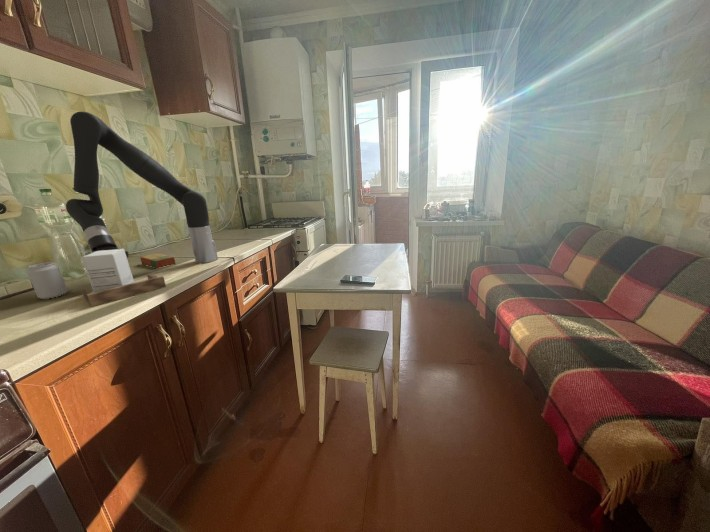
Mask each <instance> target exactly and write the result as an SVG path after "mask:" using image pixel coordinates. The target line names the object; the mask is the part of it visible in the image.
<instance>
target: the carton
mask: <svg viewBox="0 0 710 532" xmlns="http://www.w3.org/2000/svg"><path fill="white" fill-rule="evenodd" d="M140 262H141V264H144V265H143V266H145V265H148V266H147V267H149V266H152V267H151V268H153V267H155V268H154V269H156V268H159V267H163V266H167V265H170V266H172V265H171V264H174V265H176V259H175V257H174V256H171V255H167V254H162V253H153V254H148V255H144V256H140ZM167 267H168V266H167ZM163 268H164V267H163ZM159 269H160V268H159Z"/></svg>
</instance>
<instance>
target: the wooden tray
mask: <svg viewBox="0 0 710 532" xmlns="http://www.w3.org/2000/svg"><path fill="white" fill-rule="evenodd" d="M146 277H147V279H144V280H143V279H142V280H140V281H136V282H135V281H134V283H131V284H127V285H123V286H119V287H115V288H111V289H107V290H103V291H99V292H95V293H94V292H91V291H90V290H89V288H84V289H80V290H81V293H82V296H83V297H85V298H84V299H85V300H86V301H87V302H89V303H88V304H89V305H90V307H92V308H94V307H97V306H101V305H105V304H108V303H112V302H115V300H116V301H119V300H123V299H126V298H130V297H134V296H136V295H140V294H145V293H148V292H152V291H155V290H158V289H163V288H166V287H167V284H166V282H165V277H164V276H163V275H161V276H157V275H155V274H153V273H148V274H146ZM162 287H163V288H162ZM111 301H112V302H111ZM104 303H105V304H104ZM100 304H101V305H100ZM96 305H97V306H96ZM93 306H94V307H93Z"/></svg>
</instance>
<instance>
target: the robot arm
mask: <svg viewBox="0 0 710 532" xmlns="http://www.w3.org/2000/svg"><path fill="white" fill-rule="evenodd" d="M70 127H71V132H72V140H73V146H74V147H73V148H74V171H73V190H74V192H76V193H78V194H83V195H86V196H87V197H88V198H89V199H80V198H71V199H68V200H67V202H66V203H65V209H66V211H67V214H68V215H69V216H70V217H71V218H72V220H74V221H75V222H76V223H77V224H78V225H79V226H80V228H81V229H82V231H83V235H84V238H85V240H86V242H87V245H88V247H89V249H90V251H91V253H93V252H95V251H102V250H115V249H119V248H118V246H117V244H116V241H115V240H114V238H113V236H112V234H111V232H110V231H109V229H108V227H107V226H106V224H105V221H104V220H103V218H101V217H102V215H103V214H104V208H103V204H102V201H101V197H100V194H99V193H100V192H99V185H100V183H99V182H100V181H99V180H100V173H99V172H100V171H99V164H98V146H101V147H102V148H103V149H105V150H106V151H109V152H110V153H111V154H112V155H114V156H115V157H116V158H117V159H118V160H119V161H120V162H121V163H122V164H123V165H125V166H126V167H127V168H128V169H129V170H130V171H132V172H133V173H135V175H138V176H139V177H140V178H142V179H143V180H144V181H146V182H148V183H149V184H151V185H153V186H154V187H156V188H158V189H159V190H162V191H163V192H164V193H167V194H169V196H171V197H172V198H174V199H175V200H176V201H178V203H180V204H181V205H182V206H183V209H184V214H185V218H186V219H185V220H186V224H187V229H188V234H189V238H190V244H191V248H192V251H193V256H194V261H195V264H205V263H206V264H207V263H212V262H214V261H217V260H218V259H219V256H218V251H217V247H216V246H217V245H216V242H215V240H213V235H212V231H211V225H210V217H209V210H208V205H207V202H206V201H207V200H206V198H205V197H204V196H203V194H201V193H200V192H197V191H194V190H193V189H191V188H189V187H188V186H187V185H185V184H183V183H182V182H180V180H178V179H177V178H176V177H175V176H174V175H173V174H172V173H171V172H170V171H169V170H168V169H167V168H165V167H164V166H163V165H162V164H161V163H159V162H158V161H157V160H156V159H154V158H153V157H151V156H150V155H149V154H147V153H146V152H144V151H142V150H141V149H140V148H138V147H136V146H135V145H133V144H131V143H130V142H128V141H127V140H125V139H124V138H122V137H121V136H120V135H119V134H118V133H116V132H115V131H114V130H113V128H110V126H108V125H107V124H106V123H105V122H104V121H103V120H102V119H101V118H100V117H99V116H98V115H97V116H96V115H95V114H92V113H90V112H88V111H77V112H75V113H74V112H73V114H72V115H71V117H70ZM124 251H125V250H124ZM125 254H126V257H127V259H128V258H129V256H130V255H129V251H127V250H126V251H125Z"/></svg>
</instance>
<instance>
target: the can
mask: <svg viewBox="0 0 710 532" xmlns="http://www.w3.org/2000/svg"><path fill="white" fill-rule="evenodd" d="M26 273H27V274H28V277H29V281H30V282H31V284H32V287H33V290H34V291H35V294H36V296H37V298H38V299H41V300H50V299H49V298H52V299H55V298H54V297H56V298H59V297H58V296H60V297H61V295H62V296H64V295H65V294H66V293H67V292H68V288H67V285H66V283H65V280H64V277H63V274H62V272H61V269H60V267H59V265H57V264H55V262H54V261H53V262H52V261H50V262H49V261H47V262H41V263H35V264H31V265H29V266H28V270H27V272H26ZM63 294H64V295H63Z"/></svg>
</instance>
